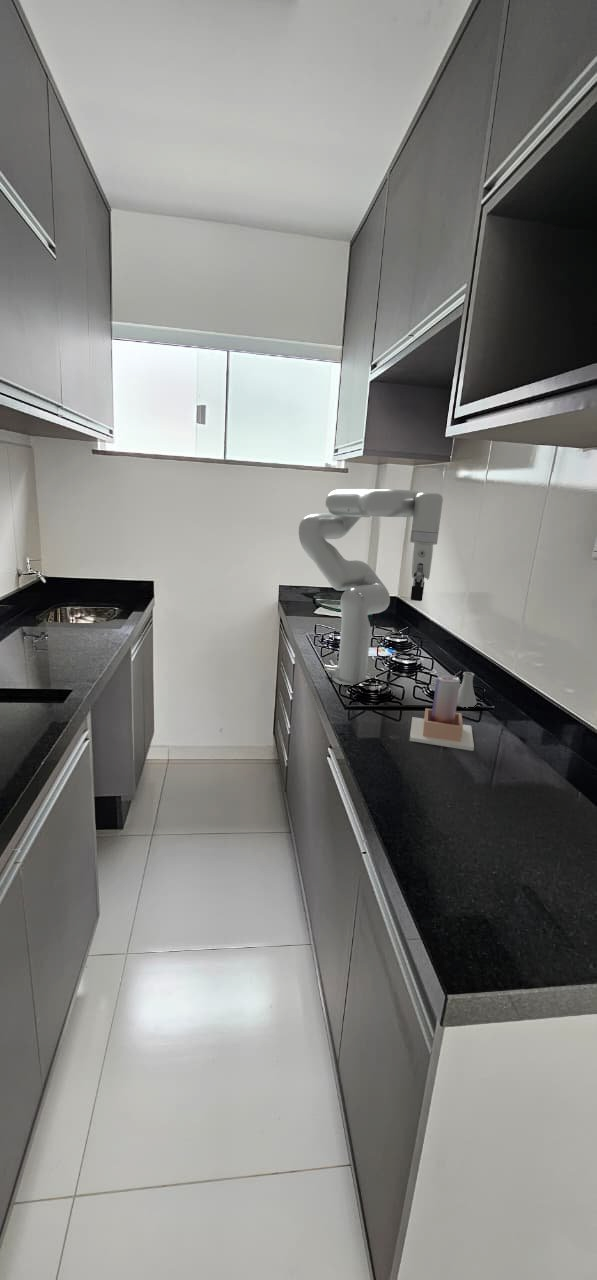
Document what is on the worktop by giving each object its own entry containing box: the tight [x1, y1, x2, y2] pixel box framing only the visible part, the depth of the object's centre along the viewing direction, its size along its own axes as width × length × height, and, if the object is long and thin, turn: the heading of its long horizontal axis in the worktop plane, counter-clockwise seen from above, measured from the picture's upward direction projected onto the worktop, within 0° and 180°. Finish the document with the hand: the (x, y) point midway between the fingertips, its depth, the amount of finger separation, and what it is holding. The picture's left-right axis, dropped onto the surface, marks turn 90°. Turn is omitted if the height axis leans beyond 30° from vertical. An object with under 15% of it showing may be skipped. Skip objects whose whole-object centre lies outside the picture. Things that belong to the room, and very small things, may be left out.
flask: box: [457, 671, 478, 709], centre depth 176 cm, size 7×7×10 cm
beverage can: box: [431, 674, 461, 725], centre depth 152 cm, size 6×6×15 cm
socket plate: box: [409, 707, 475, 751], centre depth 154 cm, size 16×14×5 cm
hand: (416, 597), depth 168 cm, fingers open, 9 cm apart
